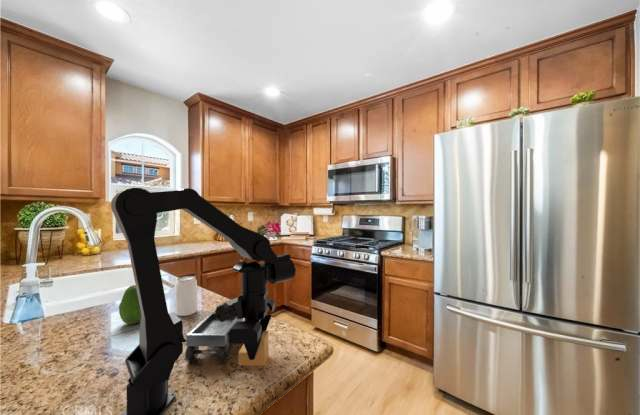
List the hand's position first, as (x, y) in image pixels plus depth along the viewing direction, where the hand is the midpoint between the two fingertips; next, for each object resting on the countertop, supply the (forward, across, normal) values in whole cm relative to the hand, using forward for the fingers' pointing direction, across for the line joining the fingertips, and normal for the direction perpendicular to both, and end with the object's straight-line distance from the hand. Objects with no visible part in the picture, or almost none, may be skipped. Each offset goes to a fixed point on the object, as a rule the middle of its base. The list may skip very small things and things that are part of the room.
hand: (254, 354), depth 61 cm
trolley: (+2, -5, -11) cm, 12 cm away
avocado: (+2, -19, -43) cm, 47 cm away
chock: (+2, 0, 0) cm, 2 cm away
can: (+2, -27, -31) cm, 41 cm away
